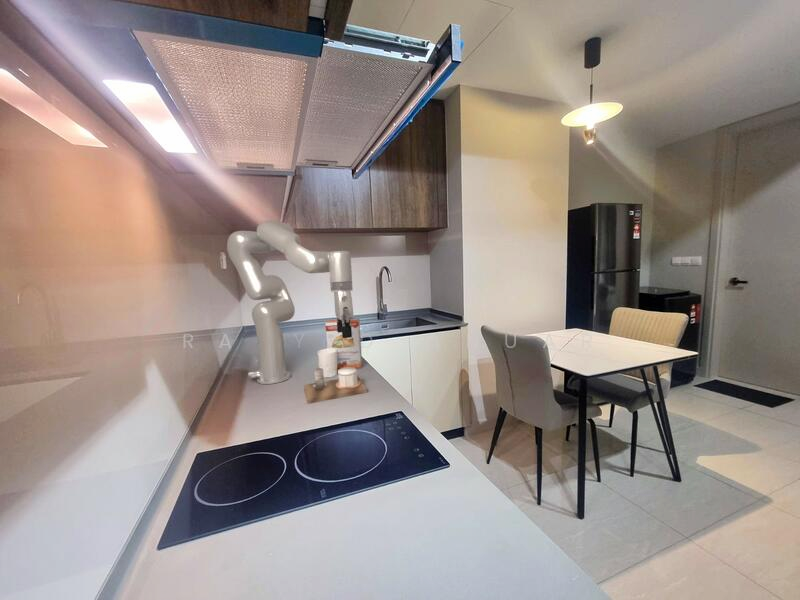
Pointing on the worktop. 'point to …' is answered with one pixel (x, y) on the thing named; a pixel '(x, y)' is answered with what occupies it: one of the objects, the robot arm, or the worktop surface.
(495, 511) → the worktop surface
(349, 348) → the cracker box
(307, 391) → the post board
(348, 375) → the cap
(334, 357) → the white cup
